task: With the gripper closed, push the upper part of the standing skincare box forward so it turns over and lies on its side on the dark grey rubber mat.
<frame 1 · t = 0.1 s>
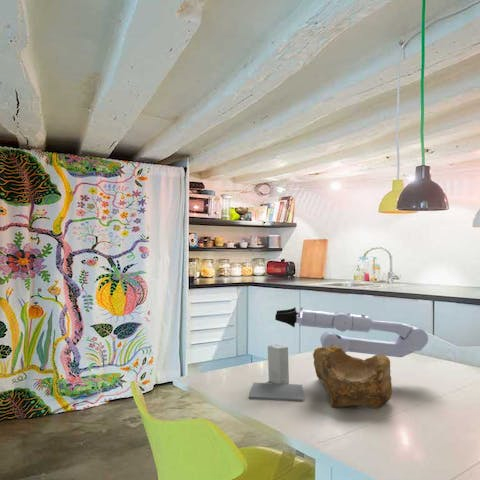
hand: (275, 315, 146), 22 cm above the table, tool horizontal, fingers open, 7 cm apart
rubber mat: (276, 392, 128), on the table
rough brown rock: (348, 404, 119), on the table
skincare box: (278, 382, 138), on the table
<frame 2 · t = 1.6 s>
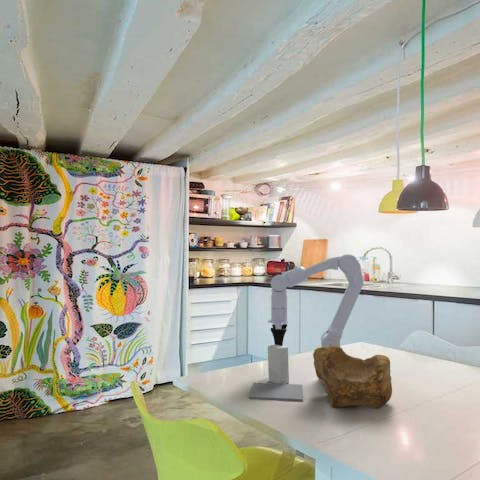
hand: (279, 346, 147), 10 cm above the table, tool pointing down, fingers open, 7 cm apart
nothing on the table moved.
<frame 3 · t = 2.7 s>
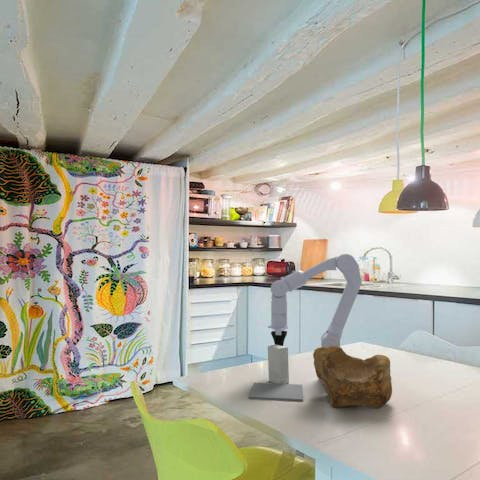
hand: (279, 351, 147), 8 cm above the table, tool pointing down, fingers closed
nothing on the table moved.
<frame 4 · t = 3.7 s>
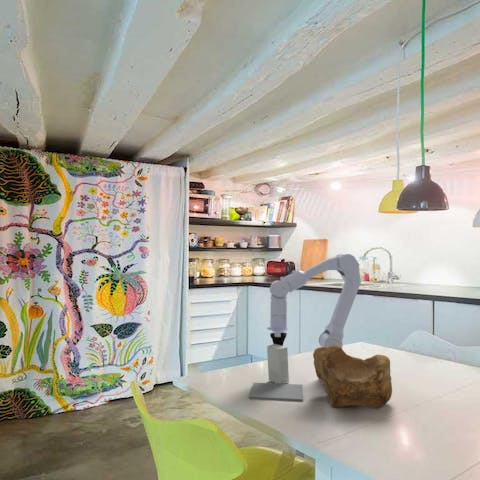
hand: (278, 354, 143), 9 cm above the table, tool pointing down, fingers closed
skincare box: (278, 382, 138), on the table, touching gripper
everything else where it was.
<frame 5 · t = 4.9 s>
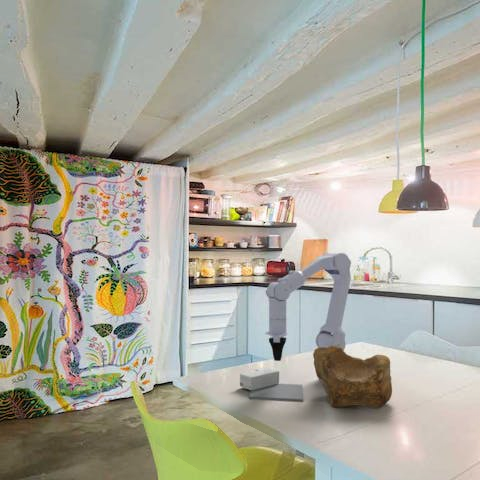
hand: (277, 360, 134), 8 cm above the table, tool pointing down, fingers closed
skincare box: (273, 375, 137), point 3 cm above the table, touching rubber mat
everything else where it was.
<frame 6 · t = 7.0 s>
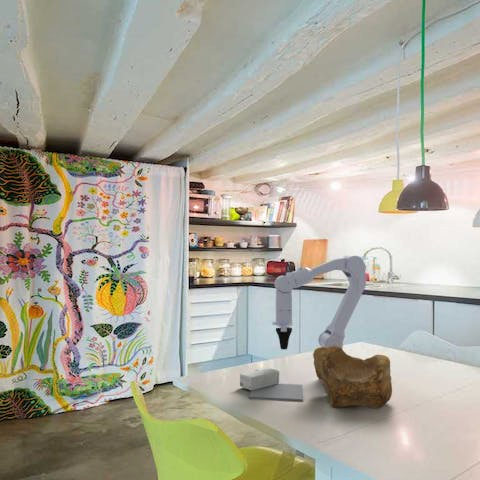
hand: (284, 349, 142), 10 cm above the table, tool pointing down, fingers closed
nothing on the table moved.
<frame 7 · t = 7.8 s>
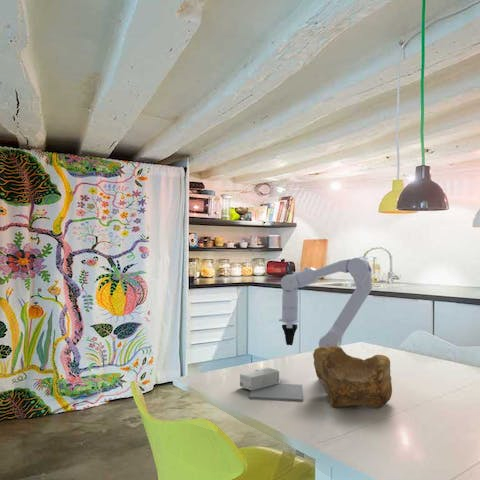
hand: (289, 344, 149), 10 cm above the table, tool pointing down, fingers closed
nothing on the table moved.
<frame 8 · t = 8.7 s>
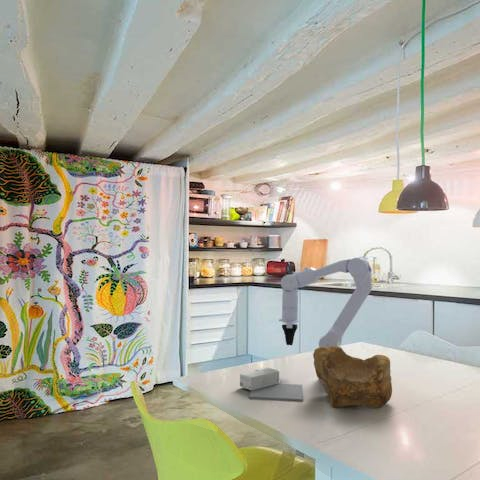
hand: (289, 344, 149), 10 cm above the table, tool pointing down, fingers closed
nothing on the table moved.
at the end: skincare box tilted 89°; skincare box touching rubber mat; skincare box inside the target area (2.5 cm from its centre), point 2.6 cm above the table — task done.
